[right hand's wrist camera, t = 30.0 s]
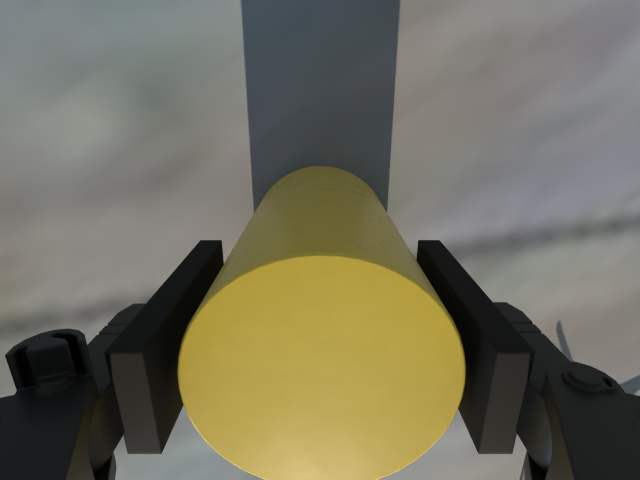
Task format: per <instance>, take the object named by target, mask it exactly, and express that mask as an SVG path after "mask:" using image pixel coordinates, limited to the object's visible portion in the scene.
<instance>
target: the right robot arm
mask: <svg viewBox="0 0 640 480" xmlns="http://www.w3.org/2000/svg"><path fill="white" fill-rule="evenodd" d="M417 262H418V264H419V266H420V267H421V269H422V270H423V272H424V274H425V275H426V277H427V279H428V280H429V282H430V283H431V285H432V287H433V288H434V290H435V292H436V293H437V295H438V296H439V298H440V300H441V301H442V303H443V305H444V306H445V308H446V309H447V311H448V313H449V314H450V316H451V318H452V319H453V321H454V323H455V326H456V328H457V330H458V332H459V334H460V337H461V341H462V345H463V348H464V354H465V363H466V374H465V385H464V390H463V395H462V399H461V402H460V404H459V407H458V409H459V411H460V414H461V416H462V418H463V420H464V423H465V425H466V427H467V429H468V431H469V434H470V436H471V438H472V440H473V443H474V445H475V447H476V449H477V451H478V454H512V452H513V448H514V444H515V439H516V435H517V434H518V436H519V437H520V439H521V441H522V443H523V444H524V446H525V448H526V449H527V452H526V456H525V460H524V464H523V468H522V472H521V476H520V480H640V396H636V395H631V394H627V393H624V391H623V389H622V388H621V387H620V385H619V384H618V383H617V382H616V381H615V380H614V379H612V378H611V377H610V376H608V375H607V374H605V373H604V372H602V371H600V370H598V369H595V368H593V367H591V366H588V365H585V364H581V363H578V362H571V361H569V360H568V359H567V358H566V357H565V356H564V355H563V354H562V352H561V351H560V350H559V349H558V348H557V347H556V346H555V345H554V344H553V343H552V342H551V341H550V340H549V339H548V338H547V337H546V336H545V335H544V334H541V331H540V330H539V329H538V328H537V327H536V325H533V322H532V321H531V320H530V319H529V318H528V317H527V316H526V315H525V314H524V313H523V312H522V311H520V310H519V309H517V308H515V307H513V306H512V305H510V304H508V303H506V302H492V301H491V300H490V299H489V298H488V296H487V295H486V294H485V293H484V292H483V291H482V289H481V288H480V287H479V286H478V285H477V284H476V282H475V281H474V280H473V279H472V278H471V277H470V275H469V274H468V273H467V272H466V271H465V270H464V268H463V267H462V266H461V265H460V264H459V263H458V261H457V260H456V259H455V258H454V257H453V256H452V254H451V253H450V252H449V251H448V250H447V249H446V247H445V246H444V245H443V244H442V243H441V242H440V240H418V251H417ZM223 265H224V262H223V251H222V240H200V242H199V243H198V244H197V245H196V246H195V247H194V249H193V250H192V251H191V252H190V253H189V254H188V256H187V257H186V258H185V259H184V260H183V261H182V263H181V264H180V265H179V266H178V267H177V268H176V270H175V271H174V272H173V273H172V274H171V275H170V277H169V278H168V279H167V280H166V281H165V282H164V284H163V285H162V286H161V287H160V288H159V289H158V291H157V292H156V293H155V294H154V295H153V296H152V297H151V299H150V300H149V301H148V302H147V303H146V304H133V305H131V306H129V307H127V308H126V309H124V310H122V311H120V312H119V313H118V314H117V315H116V316H115V317H114V318H113V319H112V320H111V321H110V322H109V323H108V326H105V327H104V328H103V329H102V330H101V331H100V332H99V335H97V336H96V337H95V338H94V339H93V340H92V341H91V342H90V343H89V344H88V345H87V343H86V339H85V335H84V334H83V333H82V332H80V331H79V330H74V329H59V330H52V331H48V332H44V333H40V334H38V335H35V336H33V337H30V338H28V339H25V340H24V341H22V342H21V343H19V344H17V345H16V346H14V347H13V348H12V349H11V350H10V351H9V352H8V353H7V354H6V355H5V357H6V360H7V363H8V366H9V368H10V371H11V374H12V377H13V380H14V383H15V386H16V389H17V391H16V393H15V395H12V396H7V397H3V398H0V480H115V475H116V461H115V456H114V452H113V451H114V450H115V448H116V446H117V445H118V443H119V441H120V439H121V438H122V436H123V435H124V440H125V444H126V448H127V453H128V454H162V451H163V449H164V447H165V445H166V443H167V440H168V438H169V436H170V434H171V431H172V429H173V427H174V425H175V423H176V420H177V418H178V416H179V414H180V411H181V409H182V407H183V401H182V398H181V394H180V390H179V382H178V372H177V371H178V355H179V351H180V347H181V342H182V339H183V336H184V334H185V331H186V329H187V326H188V324H189V323H190V321H191V319H192V317H193V316H194V314H195V312H196V311H197V309H198V307H199V306H200V304H201V302H202V301H203V299H204V297H205V296H206V294H207V292H208V290H209V289H210V287H211V285H212V284H213V282H214V280H215V279H216V277H217V275H218V274H219V272H220V270H221V269H222V267H223Z"/></svg>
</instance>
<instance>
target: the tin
mask: <svg viewBox="0 0 640 480" xmlns="http://www.w3.org/2000/svg"><path fill="white" fill-rule="evenodd" d="M177 372H178V382H179V390H180V394H181V398H182V401H183V405H184V407H185V409H186V411H187V414H188V416H189V418H190V420H191V421H192V423H193V425H194V426H195V428H196V429H197V431H198V432H199V433H200V435H201V436H202V437H203V438H204V440H205V441H206V442H207V443H208V444H209V445H210V446H211V447H212V448H213V449H214V450H215V451H216V452H217V453H219V454H220V455H221V456H223V457H224V458H225V459H227V460H228V461H229V462H231V463H232V464H234V465H236V466H237V467H239V468H241V469H243V470H244V471H246V472H248V473H251V474H253V475H255V476H257V477H260V478H263V479H266V480H377V479H380V478H383V477H385V476H388V475H390V474H392V473H394V472H396V471H398V470H400V469H402V468H404V467H406V466H407V465H409V464H410V463H412V462H413V461H415V460H417V459H418V458H419V457H420V456H422V455H423V454H424V453H425V452H426V451H428V450H429V449H430V448H431V447H432V446H433V445H434V444H435V443H436V442H437V441H438V440H439V439H440V437H441V436H442V435H443V433H444V432H445V431H446V429H447V428H448V427H449V425H450V423H451V421H452V420H453V418H454V416H455V414H456V412H457V410H458V407H459V404H460V402H461V399H462V395H463V390H464V385H465V374H466V363H465V354H464V348H463V345H462V341H461V337H460V334H459V332H458V330H457V328H456V326H455V323H454V321H453V319H452V318H451V316H450V314H449V313H448V311H447V309H446V308H445V306H444V305H443V303H442V301H441V300H440V298H439V296H438V295H437V293H436V292H435V290H434V288H433V287H432V285H431V283H430V282H429V280H428V279H427V277H426V275H425V274H424V272H423V270H422V269H421V267H420V266H419V264H418V262H417V261H416V259H415V257H414V256H413V254H412V253H411V251H410V249H409V248H408V246H407V244H406V243H405V241H404V240H403V238H402V236H401V235H400V233H399V231H398V230H397V228H396V227H395V225H394V223H393V222H392V220H391V218H390V217H389V215H388V214H387V212H386V210H385V209H384V207H383V205H382V204H381V202H380V201H379V199H378V197H377V196H376V194H375V193H374V191H373V190H372V189H371V188H370V187H369V186H368V185H367V184H366V183H365V182H364V181H363V180H361V179H360V178H358V177H357V176H355V175H354V174H352V173H350V172H348V171H345V170H342V169H339V168H335V167H329V166H312V167H306V168H302V169H299V170H296V171H293V172H291V173H289V174H287V175H286V176H284V177H283V178H281V179H280V180H278V181H277V182H276V183H275V184H274V185H273V186H272V187H271V188H270V189H269V190H268V192H267V193H266V194H265V196H264V198H263V199H262V201H261V203H260V204H259V206H258V208H257V209H256V211H255V213H254V215H253V216H252V218H251V220H250V221H249V223H248V225H247V226H246V228H245V230H244V231H243V233H242V235H241V236H240V238H239V240H238V242H237V243H236V245H235V247H234V248H233V250H232V252H231V253H230V255H229V257H228V258H227V260H226V262H225V263H224V265H223V267H222V269H221V270H220V272H219V274H218V275H217V277H216V279H215V280H214V282H213V284H212V285H211V287H210V289H209V290H208V292H207V294H206V296H205V297H204V299H203V301H202V302H201V304H200V306H199V307H198V309H197V311H196V312H195V314H194V316H193V317H192V319H191V321H190V323H189V324H188V326H187V329H186V331H185V334H184V336H183V339H182V342H181V347H180V351H179V355H178V371H177Z"/></svg>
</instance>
